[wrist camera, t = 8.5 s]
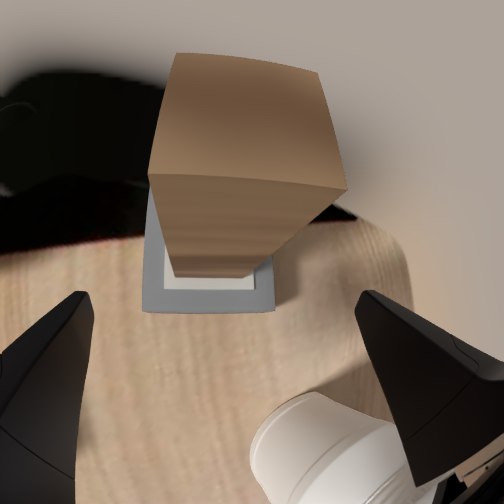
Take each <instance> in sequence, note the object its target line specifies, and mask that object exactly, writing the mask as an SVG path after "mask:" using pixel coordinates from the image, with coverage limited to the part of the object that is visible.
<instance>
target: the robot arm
mask: <svg viewBox="0 0 504 504" xmlns="http://www.w3.org/2000/svg"><path fill="white" fill-rule="evenodd" d="M355 316H356V319H357V322H358V326H359V329H360V332H361V335H362V338H363V341H364V344H365V347H366V350H367V353H368V355H369V358H370V360H371V362H372V365H373V367H374V370H375V372H376V374H377V377H378V379H379V382H380V384H381V387H382V390H383V392H384V395H385V397H386V400H387V403H388V405H389V408H390V411H391V413H392V416H393V419H394V422H395V425H396V427H397V430H398V433H399V436H400V439H401V442H402V445H403V448H404V452H405V455H406V458H407V461H408V464H409V467H410V471H411V474H412V478H413V481H414V484H415V487H416V488H417V487H420V486H422V485H424V484H426V483H428V482H430V481H432V480H433V479H435V478H437V477H439V476H441V475H443V474H444V473H446V472H448V471H450V470H451V469H453V470H454V472H452V473H451V474H450V475H448V476H447V477H446V478H445V479H443V480H442V481H440V482H439V483H438V485H437V489H436V492H435V496H434V499H433V502H432V504H504V362H502V361H499V360H497V359H495V358H494V357H491V356H490V355H488V354H486V353H484V352H482V351H480V350H478V349H476V348H474V347H472V346H471V345H469V344H467V343H465V342H464V341H462V340H460V339H458V338H457V337H455V336H453V335H452V334H449V333H448V332H446V331H445V330H443V329H441V328H440V327H438V326H436V325H434V324H432V323H431V322H429V321H428V320H426V319H424V318H422V317H421V316H419V315H417V314H415V313H414V312H412V311H410V310H408V309H407V308H405V307H403V306H401V305H400V304H398V303H396V302H394V301H393V300H391V299H389V298H387V297H385V296H384V295H382V294H380V293H378V292H376V291H375V290H365V291H363V292H362V293H361V295H360V298H359V300H358V302H357V305H356V307H355ZM93 324H94V311H93V307H92V304H91V300H90V297H89V294H88V293H87V292H86V291H75V292H73V293H72V294H71V295H69V296H68V297H67V298H66V299H64V300H63V301H62V302H60V303H59V304H58V305H57V306H55V307H54V308H53V309H52V310H50V311H49V312H48V313H47V314H46V315H44V316H43V317H42V318H41V319H39V320H38V321H37V322H36V323H35V324H34V325H32V326H31V327H30V328H29V329H28V330H26V331H25V332H24V333H23V334H22V335H21V336H20V337H18V338H17V339H16V340H15V341H14V342H13V343H12V344H10V345H9V346H8V347H7V348H6V349H5V350H4V351H3V352H2V354H0V504H75V463H76V446H77V435H78V425H79V417H80V409H81V403H82V396H83V390H84V384H85V379H86V374H87V369H88V363H89V356H90V347H91V339H92V331H93Z"/></svg>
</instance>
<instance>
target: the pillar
mask: <svg viewBox="0 0 504 504" xmlns="http://www.w3.org/2000/svg"><path fill="white" fill-rule="evenodd" d="M148 177H149V181H150V186H151V190H152V194H153V199H154V203H155V207H156V211H157V215H158V219H159V223H160V227H161V231H162V234H163V238H164V242H165V245H166V249H167V252H168V256H169V259H170V263H171V266H172V270H173V273H174V276H175V278H233V279H242V278H244V277H245V276H246V275H247V274H248V273H250V272H251V271H252V270H253V269H255V268H256V267H257V266H258V265H259V264H261V263H262V262H263V261H264V260H265V259H267V258H268V257H269V256H270V255H271V254H273V253H274V252H275V251H276V250H277V249H279V248H280V247H281V246H282V245H283V244H284V243H286V242H287V241H288V240H289V239H290V238H292V237H293V236H294V235H295V234H296V233H298V232H299V231H300V230H301V229H302V228H303V227H305V226H306V225H307V224H308V223H309V222H311V221H312V220H313V219H314V218H315V217H316V216H318V215H319V214H320V213H321V212H322V211H324V210H325V209H326V208H327V207H328V206H329V205H331V204H332V203H333V202H334V201H335V200H336V199H338V198H339V197H340V196H341V195H342V194H343V193H344V192H346V191H347V185H346V180H345V175H344V170H343V165H342V161H341V156H340V152H339V148H338V144H337V139H336V135H335V131H334V128H333V124H332V120H331V116H330V113H329V109H328V106H327V103H326V99H325V96H324V92H323V89H322V86H321V83H320V80H319V77H318V73H316V72H312V71H309V70H305V69H301V68H296V67H292V66H287V65H283V64H277V63H272V62H267V61H261V60H255V59H248V58H241V57H233V56H223V55H212V54H196V53H176V55H175V59H174V62H173V65H172V68H171V72H170V76H169V79H168V82H167V86H166V90H165V94H164V97H163V101H162V105H161V109H160V114H159V118H158V123H157V127H156V132H155V137H154V142H153V147H152V152H151V158H150V164H149V170H148Z"/></svg>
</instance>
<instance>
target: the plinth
mask: <svg viewBox="0 0 504 504" xmlns="http://www.w3.org/2000/svg"><path fill="white" fill-rule="evenodd" d="M142 311H143V312H147V313H177V314H228V313H264V312H271V311H275V293H274V273H273V255H272V254H271V255H270V256H269V257H268V258H267V259H265V260H264V261H263V262H262V263H261V264H259V265H258V266H257V267H256V268H255V269H253V270H252V271H251V272H250V273H248V274H247V275H246V276H245V277H244V278H242V279H233V278H175V276H174V273H173V270H172V266H171V263H170V259H169V256H168V252H167V249H166V245H165V242H164V238H163V234H162V231H161V227H160V223H159V219H158V215H157V211H156V207H155V203H154V199H153V194H152V190H151V186H150V191H149V200H148V208H147V218H146V229H145V242H144V257H143V280H142Z"/></svg>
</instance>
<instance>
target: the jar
mask: <svg viewBox="0 0 504 504" xmlns="http://www.w3.org/2000/svg"><path fill="white" fill-rule="evenodd" d="M250 465H251V469H252V472H253V474H254V476H255V478H256V479H257V481H258V483H260V484H261V486H262V488H263V490H264V492H265V493H266V495H267V497H268V499H269V500H270V502H271V504H432V502H433V499H434V496H435V492H436V489H437V485H438V483H439V482H440V481H442V480H443V479H445V478H446V477H447V476H448V475H450V474H451V473H452V472H454V470H453V469H451V470H450V471H448V472H446V473H444V474H443V475H441V476H439V477H437V478H435V479H433V480H432V481H430V482H428V483H426V484H424V485H422V486H420V487H417V488H416V487H415V484H414V481H413V478H412V474H411V471H410V467H409V464H408V461H407V458H406V455H405V452H404V448H403V445H402V442H401V439H400V436H399V433H398V430H397V427H396V425H395V424H393V423H390V422H388V421H385V420H382V419H376V418H374V417H371V416H369V415H366V414H364V413H361V412H359V411H356V410H354V409H351V408H349V407H347V406H344V405H342V404H340V403H338V402H335V401H333V400H331V399H330V398H328V397H326V396H324V395H322V394H320V393H318V392H309V393H306V394H303V395H300V396H298V397H295V398H293V399H291V400H289V401H288V402H286V403H284V404H283V405H281V406H280V407H279V408H277V409H276V410H275V411H274V412H273V413H271V414H270V415H269V416H268V417H267V419H266V420H265V421H264V422H263V423H262V425H261V426H260V428H259V429H258V431H257V432H256V434H255V436H254V439H253V441H252V445H251V449H250Z"/></svg>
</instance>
